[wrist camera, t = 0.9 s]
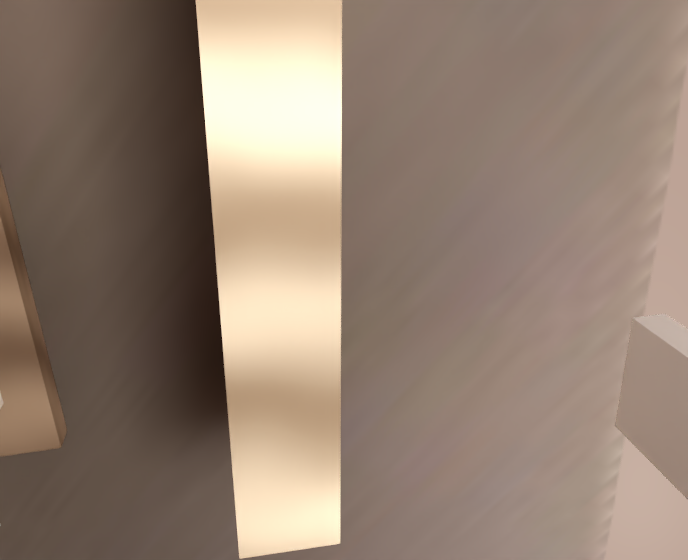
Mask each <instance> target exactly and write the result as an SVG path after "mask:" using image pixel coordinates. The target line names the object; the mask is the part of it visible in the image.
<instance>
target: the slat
mask: <svg viewBox="0 0 688 560" xmlns="http://www.w3.org/2000/svg"><path fill="white" fill-rule="evenodd" d="M196 12H197V24H198V37H199V50H200V63H201V75H202V88H203V101H204V114H205V126H206V139H207V152H208V165H209V177H210V190H211V203H212V216H213V228H214V241H215V254H216V267H217V279H218V292H219V305H220V318H221V330H222V343H223V356H224V369H225V381H226V394H227V407H228V420H229V432H230V445H231V458H232V471H233V483H234V496H235V509H236V522H237V534H238V547H239V559H241V558H248V557H254V556H261V555H268V554H274V553H281V552H288V551H294V550H301V549H307V548H314V547H321V546H327V545H334V544H340V451H341V143H342V0H196Z"/></svg>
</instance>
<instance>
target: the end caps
mask: <svg viewBox="0 0 688 560" xmlns="http://www.w3.org/2000/svg"><path fill="white" fill-rule="evenodd" d="M2 405H3V399H2V396H1V393H0V409H1V407H2Z"/></svg>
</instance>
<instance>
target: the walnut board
mask: <svg viewBox="0 0 688 560" xmlns="http://www.w3.org/2000/svg"><path fill="white" fill-rule="evenodd" d="M0 393H1V396H2V399H3V405H2V407H1V409H0V457H1V456H8V455H15V454H22V453H29V452H35V451H42V450H49V449H56V448H61V447H62V444H63V441H64V438H65V435H66V432H67V427H66V424H65V420H64V416H63V412H62V408H61V404H60V400H59V396H58V392H57V388H56V384H55V380H54V376H53V372H52V368H51V365H50V361H49V357H48V353H47V349H46V345H45V341H44V337H43V333H42V329H41V325H40V321H39V317H38V313H37V309H36V305H35V302H34V298H33V294H32V290H31V286H30V282H29V278H28V274H27V270H26V266H25V262H24V258H23V254H22V250H21V246H20V242H19V239H18V235H17V231H16V227H15V223H14V219H13V215H12V211H11V207H10V203H9V199H8V195H7V191H6V187H5V183H4V179H3V176H2V172H1V168H0Z"/></svg>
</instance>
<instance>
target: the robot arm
mask: <svg viewBox="0 0 688 560" xmlns="http://www.w3.org/2000/svg"><path fill="white" fill-rule="evenodd" d="M615 426H616V427H617V428H618V429H619V430H620V431H621V432H622V433H623V434H624V435H625V436H626V437H627V438H628V439H629V440H630V441H631V442H632V444H634V445H635V446H636V448H637V449H638V450H639V451H640V452H641V453H642V454H643V455H644V456H645V457H646V458H647V459H648V460H649V461H650V462H651V463H652V464H653V465H654V466H655V467H656V468H657V469H658V470H659V471H660V472H661V473H662V474H663V475H664V476H665V477H666V478H667V479H668V480H669V481H670V482H671V483H672V484H673V485H674V486H675V487H676V488H677V489H678V490H679V491H680V492H681V493H682V494H683V495H684V496H685V497H686V498H687V499H688V328H686V327H684V326H683V325H682V324H680V323H679V322H677V321H675V320H674V319H672V318H671V317H669V316H668V315H666V314H660V315H652V316H644V317H636V318H633V319H632V325H631V331H630V337H629V343H628V350H627V356H626V362H625V368H624V374H623V380H622V386H621V392H620V398H619V404H618V410H617V416H616V422H615ZM0 525H1V524H0Z"/></svg>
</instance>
